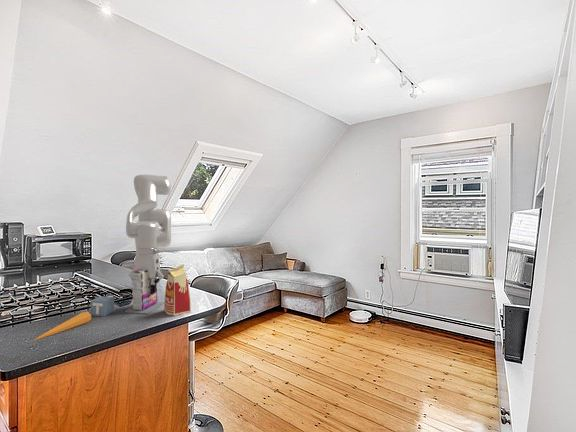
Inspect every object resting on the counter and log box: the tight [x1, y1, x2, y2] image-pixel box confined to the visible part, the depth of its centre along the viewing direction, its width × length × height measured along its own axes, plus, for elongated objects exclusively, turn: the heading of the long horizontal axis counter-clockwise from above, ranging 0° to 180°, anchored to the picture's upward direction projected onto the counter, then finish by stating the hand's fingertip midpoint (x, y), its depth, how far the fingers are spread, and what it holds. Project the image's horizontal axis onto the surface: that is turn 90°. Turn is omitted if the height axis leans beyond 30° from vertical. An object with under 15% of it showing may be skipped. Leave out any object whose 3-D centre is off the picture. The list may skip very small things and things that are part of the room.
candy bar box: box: [131, 270, 158, 310], centre depth 139 cm, size 11×5×16 cm, turn 171°
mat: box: [123, 301, 164, 315], centre depth 140 cm, size 15×10×1 cm, turn 175°
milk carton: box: [163, 263, 192, 316], centre depth 136 cm, size 9×9×20 cm
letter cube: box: [89, 295, 115, 317], centre depth 131 cm, size 6×6×6 cm
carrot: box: [32, 311, 92, 342], centre depth 113 cm, size 20×4×4 cm, turn 159°
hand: (145, 292), depth 140 cm, fingers open, 6 cm apart
